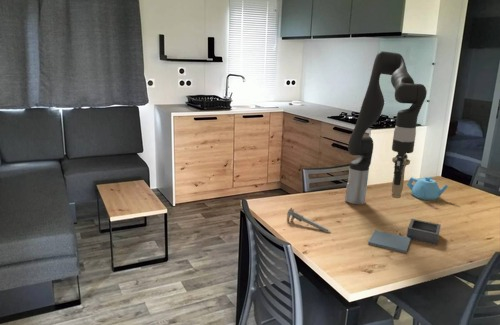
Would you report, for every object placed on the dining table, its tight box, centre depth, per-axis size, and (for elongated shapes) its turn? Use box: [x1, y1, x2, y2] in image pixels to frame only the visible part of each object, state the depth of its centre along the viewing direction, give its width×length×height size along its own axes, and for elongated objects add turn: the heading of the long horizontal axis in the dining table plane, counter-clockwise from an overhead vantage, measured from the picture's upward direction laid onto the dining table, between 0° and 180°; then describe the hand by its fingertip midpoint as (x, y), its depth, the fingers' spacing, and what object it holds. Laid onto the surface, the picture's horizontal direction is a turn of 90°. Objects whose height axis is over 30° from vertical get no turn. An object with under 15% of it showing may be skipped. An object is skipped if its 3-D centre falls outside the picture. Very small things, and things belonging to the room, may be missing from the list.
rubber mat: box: [367, 229, 412, 254], centre depth 160 cm, size 14×13×1 cm
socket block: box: [406, 218, 442, 246], centre depth 166 cm, size 11×11×4 cm
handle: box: [391, 157, 411, 199], centre depth 153 cm, size 5×6×15 cm
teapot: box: [406, 176, 449, 201], centre depth 214 cm, size 15×15×11 cm
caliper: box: [286, 207, 332, 234], centre depth 171 cm, size 20×1×6 cm, turn 54°
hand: (397, 182), depth 154 cm, fingers closed on handle, 4 cm apart
